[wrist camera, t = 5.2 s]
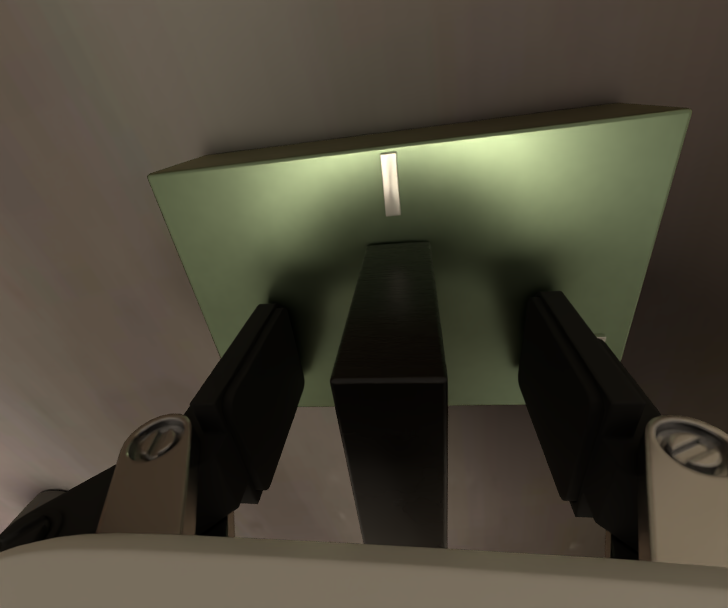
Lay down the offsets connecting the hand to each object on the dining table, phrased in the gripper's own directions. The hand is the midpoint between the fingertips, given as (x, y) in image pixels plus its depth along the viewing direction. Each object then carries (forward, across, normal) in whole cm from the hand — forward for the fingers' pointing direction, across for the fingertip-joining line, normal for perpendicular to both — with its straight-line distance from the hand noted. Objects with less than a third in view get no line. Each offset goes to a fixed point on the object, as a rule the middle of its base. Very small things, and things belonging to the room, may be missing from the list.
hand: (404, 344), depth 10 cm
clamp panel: (+3, 0, 0) cm, 3 cm away
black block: (0, 0, 0) cm, 0 cm away
